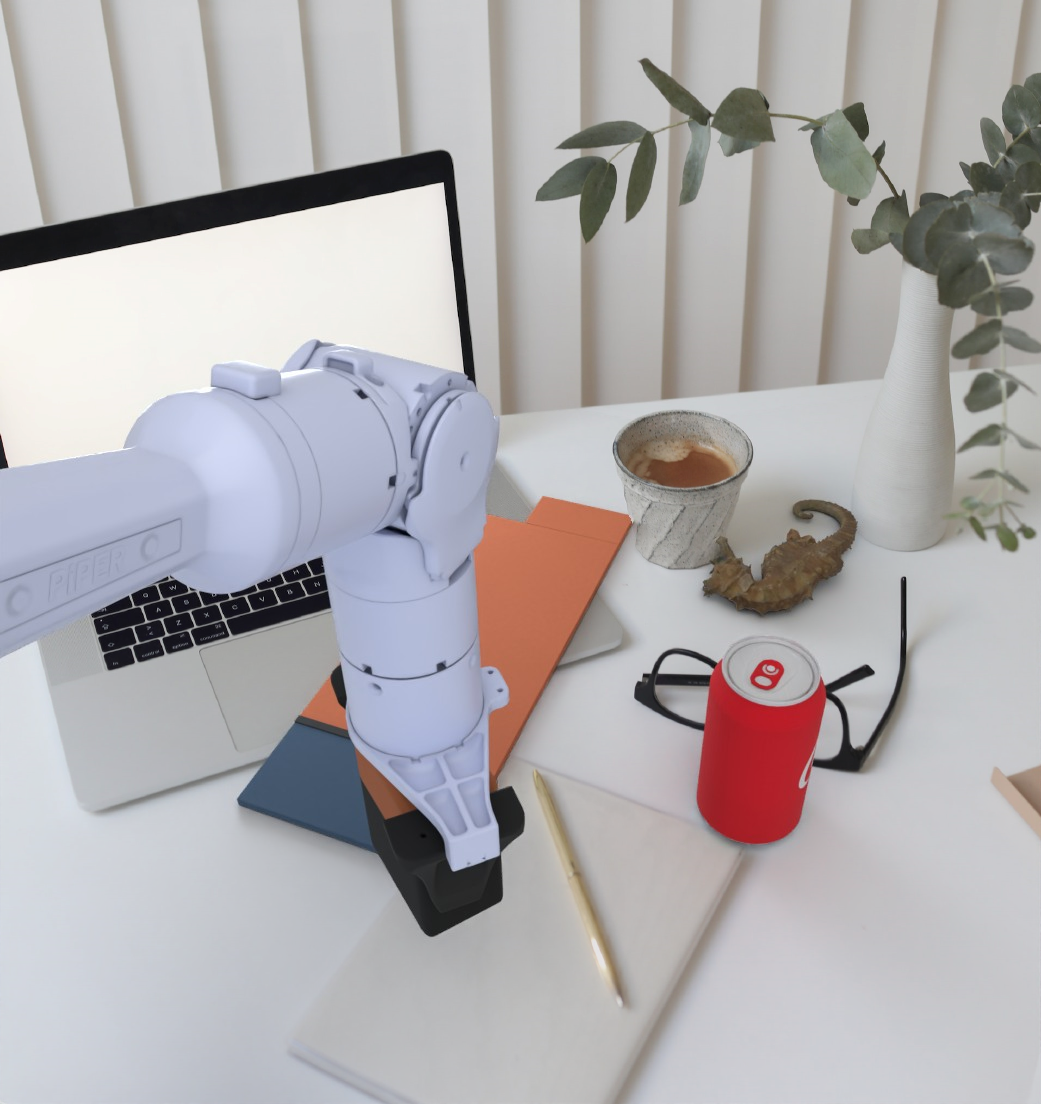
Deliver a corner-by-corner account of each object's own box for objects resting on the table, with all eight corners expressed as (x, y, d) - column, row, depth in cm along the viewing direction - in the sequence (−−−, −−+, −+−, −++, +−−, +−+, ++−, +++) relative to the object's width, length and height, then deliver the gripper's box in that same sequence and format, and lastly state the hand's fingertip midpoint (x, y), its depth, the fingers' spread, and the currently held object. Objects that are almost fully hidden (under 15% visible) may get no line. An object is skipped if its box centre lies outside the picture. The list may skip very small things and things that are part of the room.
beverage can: (815, 795, 65) (848, 653, 58) (776, 869, 61) (807, 727, 54) (720, 754, 68) (740, 613, 60) (677, 822, 64) (693, 681, 56)
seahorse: (904, 553, 83) (912, 521, 81) (755, 641, 76) (760, 608, 74) (813, 499, 89) (819, 468, 87) (667, 575, 82) (670, 543, 80)
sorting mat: (444, 877, 61) (443, 870, 61) (237, 805, 66) (235, 797, 65) (634, 521, 87) (634, 514, 87) (477, 486, 91) (476, 479, 91)
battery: (444, 806, 57) (430, 672, 50) (507, 903, 52) (501, 769, 46) (368, 841, 55) (344, 708, 49) (427, 945, 50) (409, 812, 44)
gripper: (571, 725, 39) (569, 932, 47) (444, 507, 50) (460, 709, 58) (385, 785, 37) (417, 990, 46) (293, 545, 48) (334, 748, 56)
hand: (432, 836), depth 52 cm, fingers closed on battery, 7 cm apart
